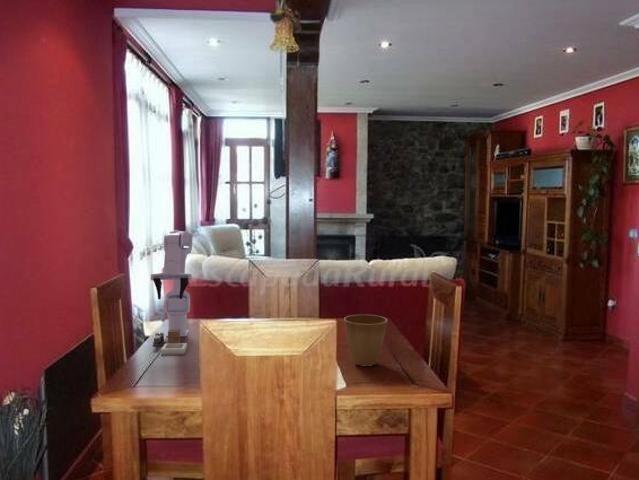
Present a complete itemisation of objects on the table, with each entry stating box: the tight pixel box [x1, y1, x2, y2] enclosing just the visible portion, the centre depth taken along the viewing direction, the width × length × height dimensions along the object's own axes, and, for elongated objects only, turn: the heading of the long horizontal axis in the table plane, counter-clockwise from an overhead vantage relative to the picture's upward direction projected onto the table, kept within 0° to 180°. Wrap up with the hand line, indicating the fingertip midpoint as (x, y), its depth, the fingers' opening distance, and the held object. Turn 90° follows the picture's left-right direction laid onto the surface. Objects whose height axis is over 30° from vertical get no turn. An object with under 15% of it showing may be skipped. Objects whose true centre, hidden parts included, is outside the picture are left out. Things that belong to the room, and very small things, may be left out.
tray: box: [160, 342, 188, 356], centre depth 193 cm, size 8×8×2 cm
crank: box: [153, 331, 165, 344], centre depth 199 cm, size 9×3×3 cm, turn 7°
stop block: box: [167, 328, 181, 343], centre depth 201 cm, size 4×4×6 cm
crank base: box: [152, 340, 167, 347], centre depth 203 cm, size 6×10×4 cm, turn 97°
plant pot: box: [343, 314, 388, 366], centre depth 183 cm, size 15×15×16 cm
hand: (170, 298), depth 192 cm, fingers open, 7 cm apart
